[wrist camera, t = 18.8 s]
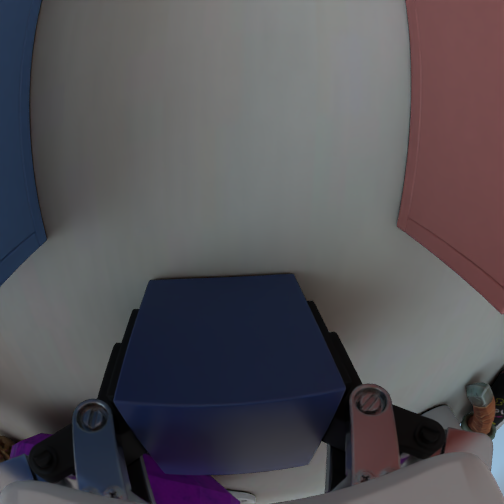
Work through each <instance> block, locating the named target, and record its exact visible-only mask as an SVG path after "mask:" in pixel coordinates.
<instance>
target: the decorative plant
mask: <svg viewBox="0 0 504 504" xmlns="http://www.w3.org/2000/svg"><path fill="white" fill-rule="evenodd" d="M51 435H53V434H43V433H40V434H37V435H35V436H33V437H30V438H27V439H25V440H22V441H20V442H18V443H16V444H15V445H13V446H12V450H11V454H10V459H11V458H14V457H17V456H19V455H22V454H24V453H25V454H26V455H29V453H30V450H31V449H32V447H33V446H34V445H36V444H37V443H39V442H41V441H42V440H44V439H46V438H48V437H49V436H51ZM143 459H144V463H145V467H146V471H147V474H148V478H149V481H150V485H151V488H152V492H153V495H154V498H155V501H156V504H240V501H239V500H238V499H236V498H235V497H234V496H233V495H232V494H231V493H229V492H228V491H227V490H226V489H225V488H224V487H223V486H222V485H221V484H219V483H218V482H217V481H216V480H215V479H213V478H212V477H211V476H209V475H177V474H166V473H164V472H163V470H162V469H161V468H160V467H159V466H158V464H157V463H156V462H155V461H154V459H153V458H152V457H151V456H150V454H146V453H145V454H143Z"/></svg>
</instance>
